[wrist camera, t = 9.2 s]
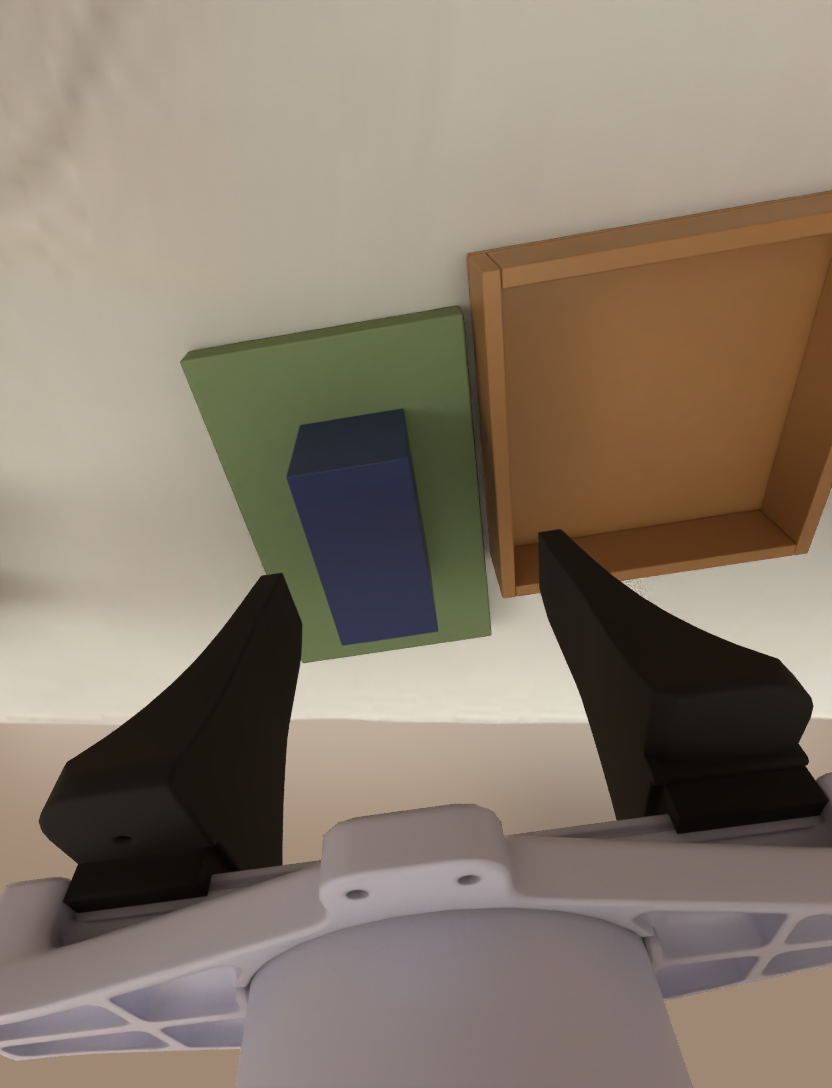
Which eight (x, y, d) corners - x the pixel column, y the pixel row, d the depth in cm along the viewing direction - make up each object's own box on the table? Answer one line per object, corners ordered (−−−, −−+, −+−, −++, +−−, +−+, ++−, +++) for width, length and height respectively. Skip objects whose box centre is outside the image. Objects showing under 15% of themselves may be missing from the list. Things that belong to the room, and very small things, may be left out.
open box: (860, 185, 18) (941, 192, 15) (764, 512, 26) (807, 553, 23) (466, 253, 19) (480, 271, 16) (490, 554, 26) (502, 599, 24)
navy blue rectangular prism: (403, 407, 20) (409, 457, 17) (430, 569, 25) (438, 632, 22) (299, 424, 21) (285, 477, 17) (345, 582, 25) (341, 646, 22)
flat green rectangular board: (459, 305, 19) (463, 313, 19) (487, 619, 29) (491, 636, 28) (188, 350, 20) (178, 361, 19) (304, 646, 29) (302, 664, 28)
